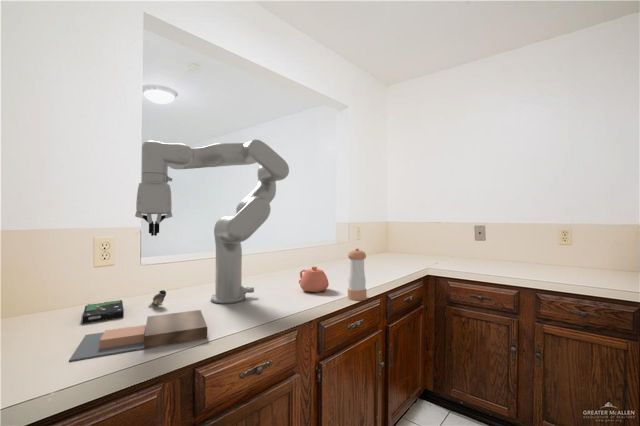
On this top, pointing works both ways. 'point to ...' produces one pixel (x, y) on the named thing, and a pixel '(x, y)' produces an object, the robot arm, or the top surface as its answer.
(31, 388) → the top surface
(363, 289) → the pepper shaker
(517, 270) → the top surface
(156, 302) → the bird figurine
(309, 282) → the sugar bowl
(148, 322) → the block
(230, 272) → the robot arm
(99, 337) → the mat
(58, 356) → the top surface
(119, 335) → the block
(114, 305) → the disk drive
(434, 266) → the top surface
